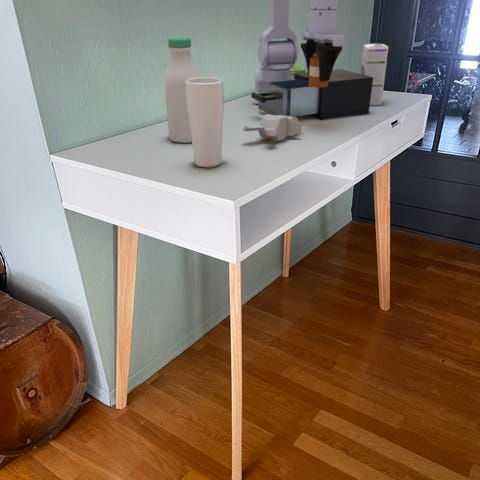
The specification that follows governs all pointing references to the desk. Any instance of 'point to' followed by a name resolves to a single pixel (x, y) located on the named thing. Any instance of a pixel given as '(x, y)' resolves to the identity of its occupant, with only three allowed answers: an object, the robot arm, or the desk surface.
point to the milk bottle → (178, 88)
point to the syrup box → (375, 69)
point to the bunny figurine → (276, 127)
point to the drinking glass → (205, 119)
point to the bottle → (315, 71)
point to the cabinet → (343, 94)
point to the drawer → (288, 97)
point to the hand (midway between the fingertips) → (318, 79)
